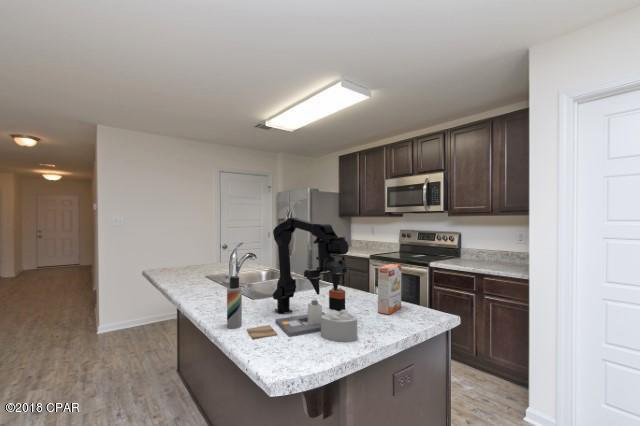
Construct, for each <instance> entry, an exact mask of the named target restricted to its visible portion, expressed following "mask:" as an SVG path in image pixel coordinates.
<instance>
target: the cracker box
mask: <svg viewBox="0 0 640 426" xmlns="http://www.w3.org/2000/svg"><path fill="white" fill-rule="evenodd" d="M377 277H378V278H377V313H379V314H383V315H387V316H390V315H391V314H393V313H395V312H396V311H398V310H401V309H402V264H395V263H390V264H386V265H381V266H378V267H377Z"/></svg>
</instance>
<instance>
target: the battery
mask: <svg viewBox="0 0 640 426" xmlns="http://www.w3.org/2000/svg"><path fill="white" fill-rule="evenodd" d="M328 309H329V310H336V311H338V312H340V311H341V310H346V290H345V289H343V288H341V287H338V288H337V291H334V287H331V289H329V290H328Z"/></svg>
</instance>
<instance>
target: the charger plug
mask: <svg viewBox="0 0 640 426" xmlns="http://www.w3.org/2000/svg"><path fill="white" fill-rule="evenodd" d="M322 306H323V305H322V304H320V303H319V301H318V300H317V299H311V302H309V303H308V302H307V314H308V321H307V324H309V325H314V324H320V323H321V316H322V312H323V311H322V310H323V307H322Z"/></svg>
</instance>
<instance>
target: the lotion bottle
mask: <svg viewBox="0 0 640 426" xmlns="http://www.w3.org/2000/svg"><path fill="white" fill-rule="evenodd" d="M226 289H227V290H226V325H227V328H229V329H238V328H240V327H241V326H242V324H243V321H242V320H243V318H242V317H243V311H242V310H243V309H242V308H243V301H242V300H243V295H242V294H243V291H242V289H243V288H242V287H240V277H239V276H237V275H231V276H230V277H229V287H228V288H226Z"/></svg>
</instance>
